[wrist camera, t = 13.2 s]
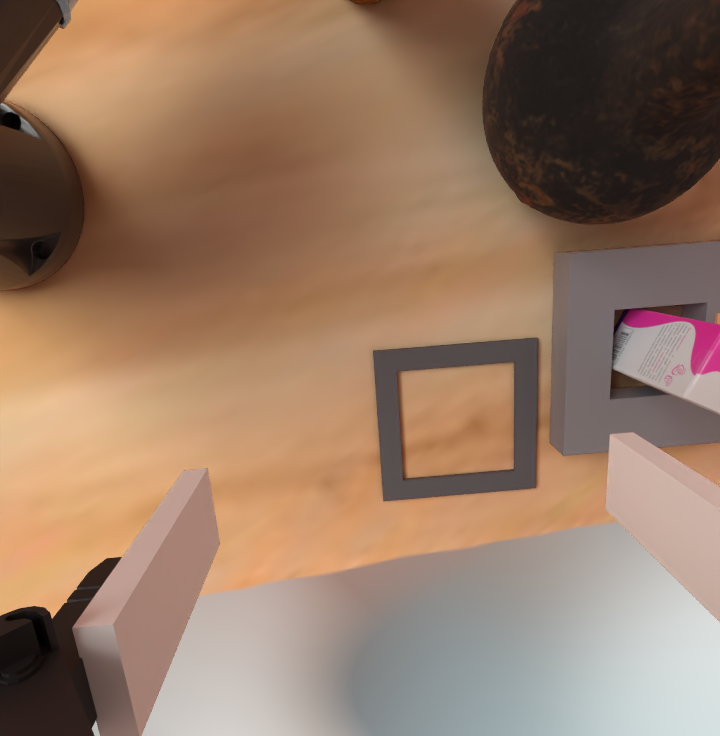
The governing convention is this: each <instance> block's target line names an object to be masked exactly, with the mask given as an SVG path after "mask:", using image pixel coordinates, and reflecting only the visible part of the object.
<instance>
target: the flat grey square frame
mask: <svg viewBox="0 0 720 736" xmlns="http://www.w3.org/2000/svg"><path fill="white" fill-rule="evenodd" d="M537 354H538V338H526V339H514V340H502V341H489V342H477V343H464V344H452V345H440V346H427V347H415V348H402V349H390V350H378V351H373V355H374V370H375V384H376V399H377V413H378V428H379V442H380V457H381V471H382V486H383V500H384V501H392V500H403V499H415V498H426V497H438V496H449V495H461V494H473V493H484V492H496V491H507V490H519V489H530V488H535V479H536V416H537ZM505 362H514V469H512V470H501V471H489V472H478V473H466V474H454V475H443V476H431V477H419V478H408V479H403V472H402V454H401V437H400V420H399V402H398V385H397V371H407V370H419V369H432V368H444V367H456V366H468V365H481V364H493V363H505Z"/></svg>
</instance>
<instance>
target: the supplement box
mask: <svg viewBox="0 0 720 736" xmlns="http://www.w3.org/2000/svg"><path fill="white" fill-rule="evenodd" d="M611 369H613V370H615V371H618V372H620V373H622V374H624V375H626V376H629V377H631V378H633V379H635V380H638V381H640V382H642V383H645V384H647V385H649V386H652V387H654V388H656V389H659V390H661V391H663V392H666V393H668V394H670V395H673V396H675V397H677V398H680V399H682V400H685V401H687V402H689V403H692V404H694V405H697V406H699V407H702V408H704V409H706V410H709V411H711V412H714V413H716V414H719V415H720V324H716V323H710V322H705V321H700V320H695V319H690V318H684V317H679V316H674V315H669V314H664V313H659V312H653V311H648V310H643V309H638V308H632V309H626V310H625V312H624V313H623V315H622V317H621V319H620V321H619V322H618V324H617V326H616V328H615V330H614V331H613V349H612V368H611Z"/></svg>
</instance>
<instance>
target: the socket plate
mask: <svg viewBox="0 0 720 736" xmlns="http://www.w3.org/2000/svg"><path fill="white" fill-rule="evenodd" d="M682 304H683V306H682V317H684V318H690V319H695V320H700V321H705V322H710V323H716V324H720V240H711V241H698V242H686V243H673V244H660V245H647V246H634V247H621V248H608V249H595V250H582V251H569V252H556V253H554V280H553V323H552V366H551V408H550V443H551V444H552V445H553V446H554V447H555V448H556V449H557V450H558V451H559V452H560V453H561V454H562V455H563V456H565V455H576V454H588V453H600V452H609V441H610V434H617V433H629V432H633V433H635V434H637V435H638V436H640V437H641V438H643V439H645V440H646V441H648V442H649V443H651V444H653V445H654V446H656V447H657V448H658V447H670V446H682V445H693V444H705V443H717V442H720V415H719V414H716V413H714V412H711V411H709V410H706V409H704V408H702V407H699V406H697V405H694V404H692V403H689V402H687V401H685V400H682V399H680V398H677V397H675V396H673V395H670V394H668V393H666V392H663V391H661V390H659V389H656V388H654V387H652V386H649V385H648V386H636V387H624V388H612V389H610V386H611V368H612V349H613V331H614V313H615V310H620V309H632V308H645V307H657V306H670V305H682Z"/></svg>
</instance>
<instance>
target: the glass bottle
mask: <svg viewBox="0 0 720 736" xmlns="http://www.w3.org/2000/svg"><path fill="white" fill-rule="evenodd" d="M482 110H483V123H484V130H485V135H486V140H487V144H488V147H489V150H490V153H491V156H492V158H493V161H494V163H495V165H496V167H497V169H498V170H499V172H500V174H501V175H502V177H503V178H504V180H505V181H506V183H507V184H508V185H509V187H510V188H511V189H512V190H513V191H514V192H515V194H516V195H517V197H518V198H519V199H520V201H521V202H523V203H525V204H527V205H529V206H530V207H531V208H534V209H536V210H538V211H540V212H542V213H544V214H546V215H549V216H551V217H554V218H557V219H560V220H563V221H567V222H572V223H578V224H610V223H617V222H622V221H627V220H630V219H634V218H637V217H640V216H643V215H645V214H648V213H650V212H653V211H655V210H657V209H659V208H660V207H662V206H664V205H666V204H668V203H670V202H671V201H673V200H674V199H676V198H677V197H679V196H680V195H682V194H683V193H684V192H686V191H687V190H689V189H690V188H691V187H692V186H693V185H695V184H696V183H697V182H698V181H699V180H700V179H701V178H702V177H703V176H704V175H705V174H706V173H707V172H708V171H709V170H710V169H711V168H712V167H713V166H714V165H715V163H716V162H717V161H718V160H719V159H720V0H517V1H516V2H515V4H514V5H513V7H512V8H511V10H510V11H509V13H508V15H507V17H506V18H505V20H504V22H503V25H502V27H501V29H500V31H499V33H498V35H497V38H496V40H495V43H494V45H493V48H492V51H491V53H490V57H489V61H488V66H487V70H486V75H485V81H484V88H483V109H482Z"/></svg>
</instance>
